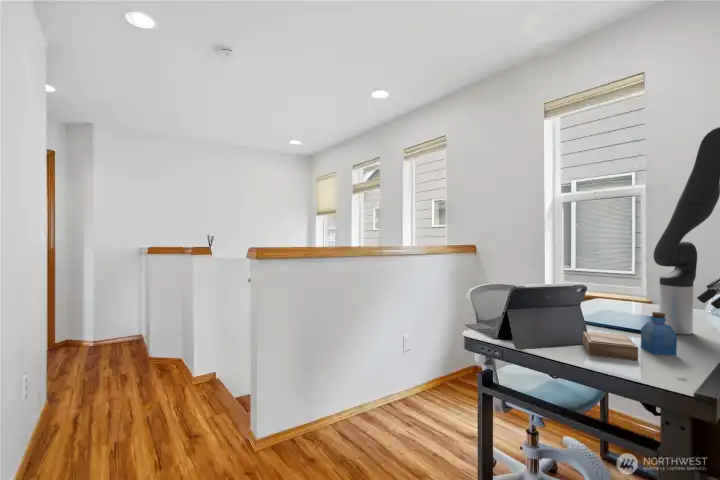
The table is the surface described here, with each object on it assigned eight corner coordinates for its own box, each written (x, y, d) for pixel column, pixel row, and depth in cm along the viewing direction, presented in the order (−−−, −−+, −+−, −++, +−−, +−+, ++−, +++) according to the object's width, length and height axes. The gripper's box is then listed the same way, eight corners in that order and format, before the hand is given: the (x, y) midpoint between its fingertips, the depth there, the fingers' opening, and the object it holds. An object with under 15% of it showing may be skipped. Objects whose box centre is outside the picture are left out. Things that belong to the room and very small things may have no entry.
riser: (582, 343, 117) (582, 330, 117) (626, 347, 112) (626, 334, 112) (589, 355, 106) (589, 341, 106) (638, 360, 101) (638, 346, 101)
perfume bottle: (676, 355, 105) (677, 316, 104) (653, 354, 106) (653, 315, 106) (663, 348, 111) (663, 311, 110) (640, 347, 112) (641, 310, 112)
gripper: (734, 254, 105) (684, 290, 111) (764, 258, 93) (706, 298, 98) (758, 272, 103) (706, 308, 108) (792, 279, 90) (731, 318, 96)
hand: (706, 303), depth 103 cm, fingers open, 8 cm apart
